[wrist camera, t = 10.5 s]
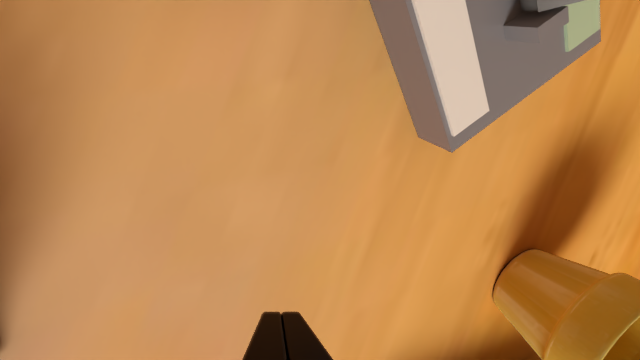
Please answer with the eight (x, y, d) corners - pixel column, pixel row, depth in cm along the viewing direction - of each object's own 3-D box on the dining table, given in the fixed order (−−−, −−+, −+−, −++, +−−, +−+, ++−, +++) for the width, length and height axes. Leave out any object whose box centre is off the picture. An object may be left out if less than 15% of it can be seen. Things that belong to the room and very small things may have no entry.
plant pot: (570, 260, 39) (686, 327, 31) (502, 335, 39) (600, 422, 31) (538, 209, 33) (672, 276, 25) (459, 299, 33) (566, 394, 25)
